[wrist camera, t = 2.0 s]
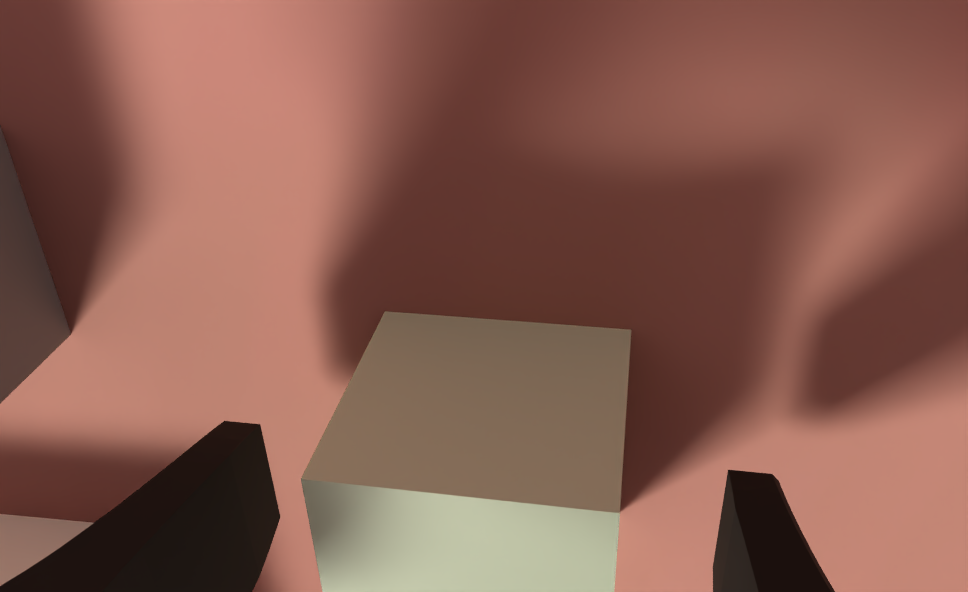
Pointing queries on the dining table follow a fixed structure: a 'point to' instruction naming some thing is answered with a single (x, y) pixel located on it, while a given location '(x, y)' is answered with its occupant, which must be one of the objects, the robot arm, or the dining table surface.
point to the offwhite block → (31, 541)
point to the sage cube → (473, 459)
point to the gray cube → (23, 287)
